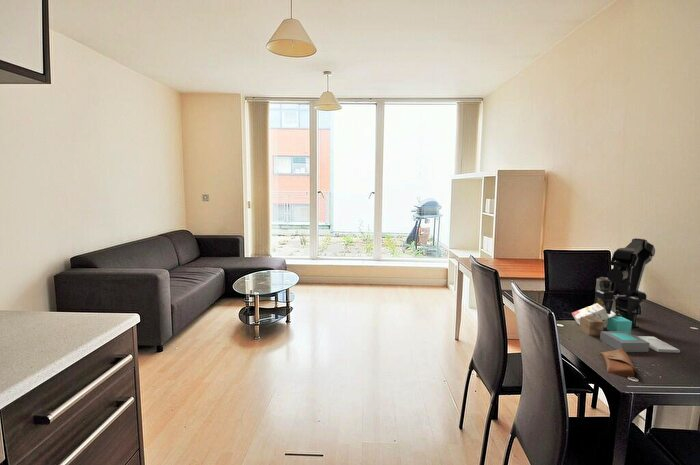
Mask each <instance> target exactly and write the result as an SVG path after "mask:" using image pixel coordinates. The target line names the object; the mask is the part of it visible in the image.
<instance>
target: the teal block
mask: <svg viewBox="0 0 700 465" xmlns="http://www.w3.org/2000/svg"><path fill="white" fill-rule="evenodd" d="M606 321H607V323H606V330H607V331H627V332H629V333H631V334H632V328H633V327H632V321H630V320H628V319H625V318H623V317H617V316H612V317H610V318H608V319H607V320H606Z"/></svg>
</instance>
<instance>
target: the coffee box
mask: <svg viewBox="0 0 700 465" xmlns="http://www.w3.org/2000/svg"><path fill="white" fill-rule="evenodd" d="M600 281H606V282H607V283H611V281H610V280H609V279H608V278H607V276H606V277H604V276H600V277H598V278H596V284H595V285H596V286H595V292H596V291H597V290H604V289H603V288H600V285H599V284H600ZM607 291H609V290H607ZM609 292H612V291H609ZM617 295H619V294H617ZM594 296H595V295H594ZM616 298H617V297H614V298H613V299H612V300H614V302H613V305H612V308H611V311H612V312H614V313H616V311H617V312H619V311H618V310H616V304H615V302H616ZM596 303H598V304H599V305H600V306H602V307H603V308H604V309H605V306H604V303H603V301H602V300H601V299H600V298H598V297H597V296H595V298H594V304H596ZM605 310H606V309H605Z"/></svg>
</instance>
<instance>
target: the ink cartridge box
mask: <svg viewBox="0 0 700 465" xmlns="http://www.w3.org/2000/svg"><path fill="white" fill-rule="evenodd" d="M571 315H572V317H573V318H574V320H575V322H576V323H577V324H578V325H579V326H580V320H581V317H596V318H597V319H599V320H601V321H603V322H604V320H608V318H610V317H612V316H613V317H616V315H617V313H616V312H612V311H611V312H610V314H607V312H606V310H605V309H604V308H603V307H602V306H600V305H599V304H598V303H596V304H595V303H593V304H592V305H590V306H586V307H584V308H581V309H578V310H576V311H573V312H571Z"/></svg>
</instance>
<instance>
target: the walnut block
mask: <svg viewBox="0 0 700 465" xmlns="http://www.w3.org/2000/svg"><path fill="white" fill-rule="evenodd" d="M604 325H605V321H604V320H603V321H601V320H599V319H597V318H596V317H581V320H580V325H579V331H581V332H583V333H584V334H586V335H588V336H600V334H601V331H604Z"/></svg>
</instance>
